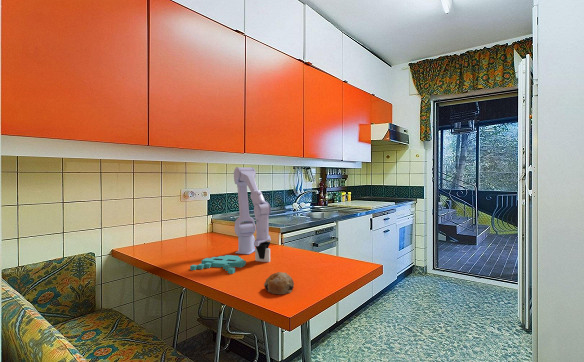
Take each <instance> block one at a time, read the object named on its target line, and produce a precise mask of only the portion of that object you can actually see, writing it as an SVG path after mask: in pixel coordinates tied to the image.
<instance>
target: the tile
mask: <svg viewBox="0 0 584 362" xmlns="http://www.w3.org/2000/svg"><path fill="white" fill-rule="evenodd" d="M254 253H255V254H254V257H255V258H254V259H255V260H254V261H255V262H262V263H271V248H269V247H268V248H266V250H265V257H264V259H260V258H259V254H258V251H257V249H256V247H255V251H254Z"/></svg>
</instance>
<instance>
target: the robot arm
mask: <svg viewBox="0 0 584 362" xmlns="http://www.w3.org/2000/svg"><path fill="white" fill-rule="evenodd" d="M256 175H257V173H256V169H255V168H254V167H253V166H251V167H235V168H234V171H233V179H234V180H233V181H234V184H235V185H236V186H237V187H236V188H237V197H238V198H237V199H238V210H239V211H238V212H239V217H238V218H236V219H235V221H234V228H233V230H234V233H235V234H236V236H237V238H238V239H237V240H238V244H237V245H238V249H237V251H236V252H235V254H239V255H240V254H242V255H251V254H252V253H255V248H256V249H257V251H258V254H259V258H260V259H264V257H265V250H266V248H269V247H270V245H271V241H272V238H271V235H270V233H269V231H270V230H269V228H270V227H269V225H270V224H269V216H270V215H271V212H272V208H271V207H272V206H271V205H270V203H269V202H268V201H266V200H265V197H264V195H263V192H262V191H261V190H259V188H258V186H257V182H256ZM248 189H249V191H250V196H248ZM249 197H250V199H251V202H252V204H253V207H254V208H253V213H254V214H253V215H254V218H253V217H251V216H250V208H249ZM254 234H255V235H256V236H254Z"/></svg>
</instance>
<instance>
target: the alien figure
mask: <svg viewBox="0 0 584 362" xmlns="http://www.w3.org/2000/svg"><path fill="white" fill-rule="evenodd" d="M246 265H247V260H244V259H243V258H242V257H240V256H239V255H232V254H225V255H219V256H211V257H206V258H203V259H202V260H201V263H199V264H191V265H190V266H189V269H190V271H193V270H195V271H196V269H197V270H203V268H204V269H211V268H212V267H213V268H221V267H223V268H222V269H223V270H224V269H225V272H226V271H228V272H227V274H228V273H229V275H234V274H235V273H236V268H243V267H245V266H246ZM210 267H211V268H210Z"/></svg>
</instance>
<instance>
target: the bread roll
mask: <svg viewBox="0 0 584 362" xmlns="http://www.w3.org/2000/svg"><path fill="white" fill-rule="evenodd" d="M263 286H264V289H265V290H266V292H268V293H269V294H272V295H286V294H290V293H292V291H293V290H294V287H295V282H294V280H293V278H292V277H291V275H290V274H288V273H287V272H282V271H280V272H279V271H278V272H274V273H271V274H270V275H269V276H268V277H267V278H266V279H265V282H264V283H263Z"/></svg>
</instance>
